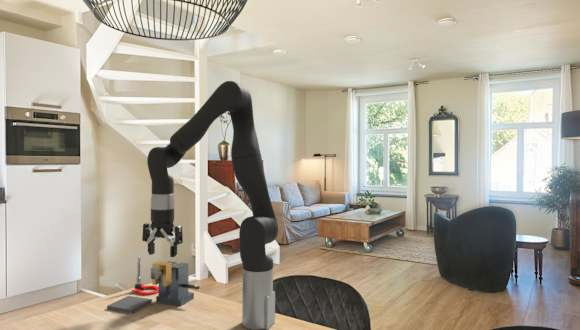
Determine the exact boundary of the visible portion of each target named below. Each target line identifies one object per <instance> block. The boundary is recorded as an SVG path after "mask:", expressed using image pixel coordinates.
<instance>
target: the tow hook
mask: <svg viewBox="0 0 580 330" xmlns="http://www.w3.org/2000/svg"><path fill="white" fill-rule="evenodd" d="M136 266H137V267H136V277H135V284H134V288H133V289H132V290H131V291H130V292H131V294H132V295H133V294H138V295H141V296H153V295H156V294H159V285H158V286H157V285H145V284H142V281H141V280H142V277H141V271H142V270H141V269H142V268H141V266H142V262H141V256H138V258H137V264H136ZM151 289H152V291H142V290H151Z"/></svg>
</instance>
